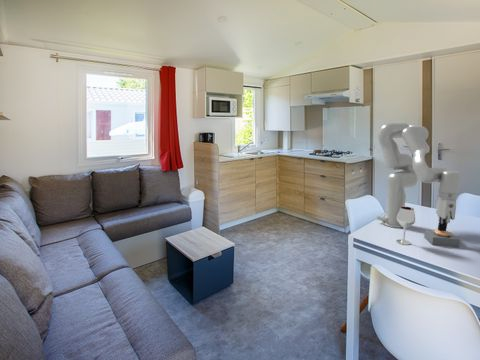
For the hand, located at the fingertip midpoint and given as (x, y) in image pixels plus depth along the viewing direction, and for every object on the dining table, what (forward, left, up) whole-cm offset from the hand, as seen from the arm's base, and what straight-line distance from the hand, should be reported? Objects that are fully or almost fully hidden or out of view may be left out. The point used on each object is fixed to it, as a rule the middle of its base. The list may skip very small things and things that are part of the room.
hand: (441, 230), depth 150 cm
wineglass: (-19, -5, -6) cm, 20 cm away
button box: (0, 0, -6) cm, 6 cm away
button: (0, 0, -6) cm, 6 cm away
